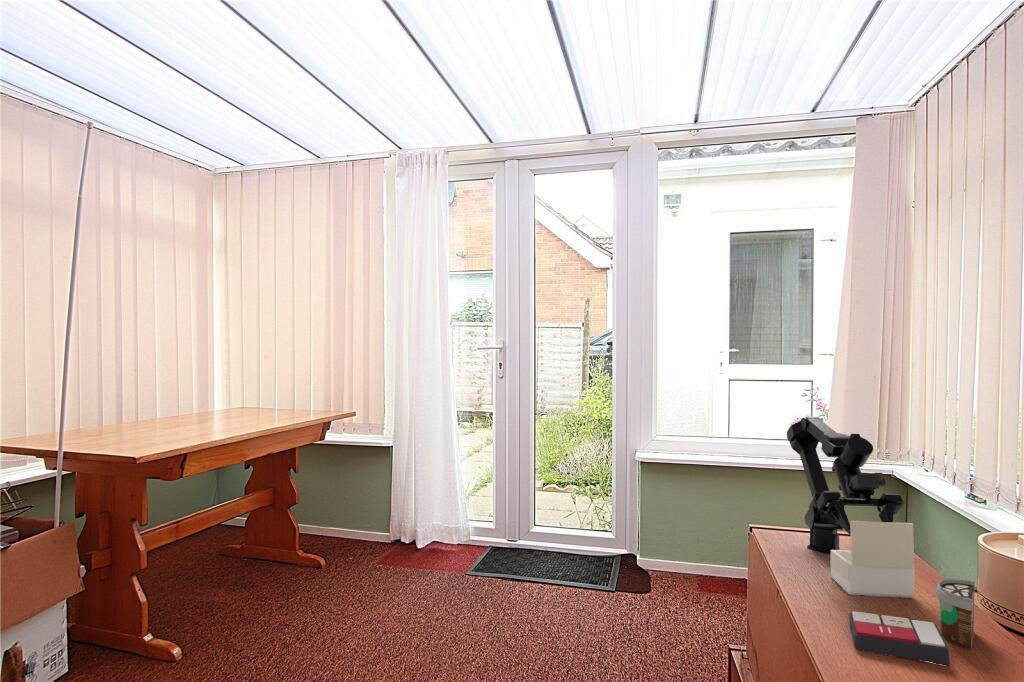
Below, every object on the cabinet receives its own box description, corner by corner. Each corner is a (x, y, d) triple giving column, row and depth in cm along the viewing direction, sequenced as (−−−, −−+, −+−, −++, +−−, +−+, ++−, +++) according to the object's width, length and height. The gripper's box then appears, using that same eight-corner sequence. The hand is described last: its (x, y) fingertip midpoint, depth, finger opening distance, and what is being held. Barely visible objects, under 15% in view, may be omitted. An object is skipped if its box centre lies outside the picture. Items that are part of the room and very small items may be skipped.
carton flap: (850, 520, 142) (851, 521, 141) (911, 523, 140) (913, 523, 140) (851, 564, 141) (852, 565, 140) (913, 567, 140) (914, 568, 139)
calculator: (848, 608, 126) (935, 619, 120) (849, 629, 126) (936, 641, 120) (854, 631, 116) (949, 644, 110) (855, 654, 116) (950, 668, 110)
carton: (829, 578, 151) (830, 549, 151) (891, 581, 150) (892, 552, 150) (848, 594, 141) (848, 564, 141) (914, 598, 140) (915, 567, 140)
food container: (937, 620, 129) (938, 573, 129) (973, 629, 125) (974, 580, 125) (931, 642, 119) (932, 591, 119) (970, 653, 115) (971, 600, 115)
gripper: (822, 458, 152) (841, 515, 141) (901, 461, 150) (926, 519, 139) (809, 482, 160) (826, 538, 149) (883, 485, 158) (906, 542, 147)
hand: (870, 534), depth 146 cm, fingers open, 9 cm apart
